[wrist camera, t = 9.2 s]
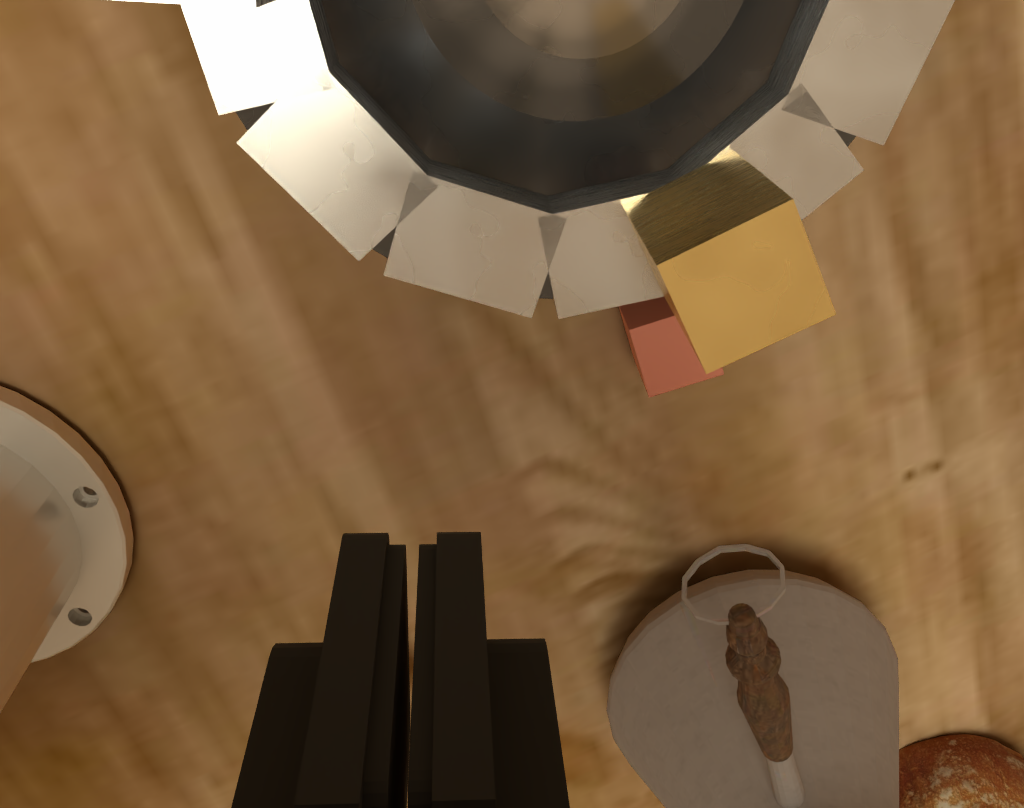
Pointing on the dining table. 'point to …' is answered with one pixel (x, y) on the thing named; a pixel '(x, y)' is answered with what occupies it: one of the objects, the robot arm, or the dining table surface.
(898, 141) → the dining table surface
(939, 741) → the bread roll
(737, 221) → the crenellated round base
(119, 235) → the dining table surface
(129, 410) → the dining table surface
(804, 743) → the coffee pot
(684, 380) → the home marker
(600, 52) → the grey round platform
